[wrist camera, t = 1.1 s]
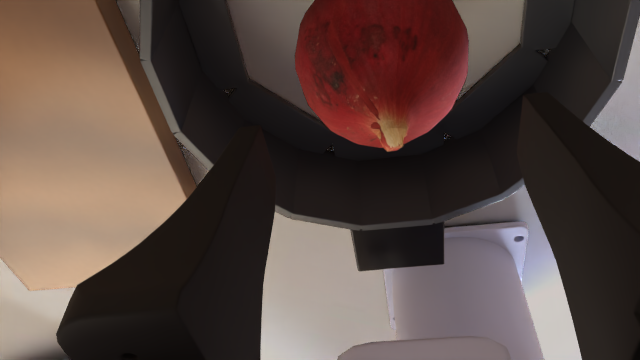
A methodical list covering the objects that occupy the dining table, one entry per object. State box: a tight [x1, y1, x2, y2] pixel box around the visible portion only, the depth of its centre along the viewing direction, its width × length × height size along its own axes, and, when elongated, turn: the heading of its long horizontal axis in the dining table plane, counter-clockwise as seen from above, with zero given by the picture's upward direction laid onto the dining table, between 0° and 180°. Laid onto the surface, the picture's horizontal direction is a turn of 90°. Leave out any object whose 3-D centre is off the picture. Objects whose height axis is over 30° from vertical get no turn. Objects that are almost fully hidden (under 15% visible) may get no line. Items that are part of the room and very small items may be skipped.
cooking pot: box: [139, 0, 640, 271], centre depth 20 cm, size 21×16×4 cm
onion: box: [295, 0, 469, 152], centre depth 18 cm, size 6×6×8 cm
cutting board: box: [0, 0, 196, 291], centre depth 25 cm, size 20×12×2 cm, turn 9°
